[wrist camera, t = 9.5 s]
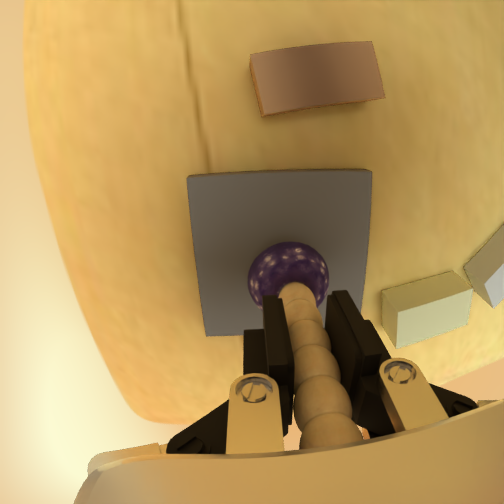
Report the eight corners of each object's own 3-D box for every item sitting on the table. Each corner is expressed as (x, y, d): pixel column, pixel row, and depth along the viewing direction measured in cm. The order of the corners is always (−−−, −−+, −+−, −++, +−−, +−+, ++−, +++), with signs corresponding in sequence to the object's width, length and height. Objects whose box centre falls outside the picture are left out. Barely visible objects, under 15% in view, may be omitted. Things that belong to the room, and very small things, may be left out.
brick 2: (451, 269, 20) (473, 288, 17) (448, 303, 21) (467, 324, 18) (380, 289, 20) (397, 312, 18) (380, 324, 21) (396, 349, 19)
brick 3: (508, 215, 18) (533, 227, 16) (517, 242, 19) (540, 255, 16) (461, 265, 20) (484, 284, 17) (473, 290, 21) (493, 308, 18)
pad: (365, 169, 17) (372, 171, 16) (354, 318, 21) (358, 326, 20) (189, 175, 17) (186, 177, 16) (207, 327, 21) (206, 336, 20)
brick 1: (353, 53, 15) (371, 41, 12) (364, 101, 16) (385, 97, 13) (249, 67, 15) (250, 54, 12) (261, 117, 16) (264, 114, 13)
